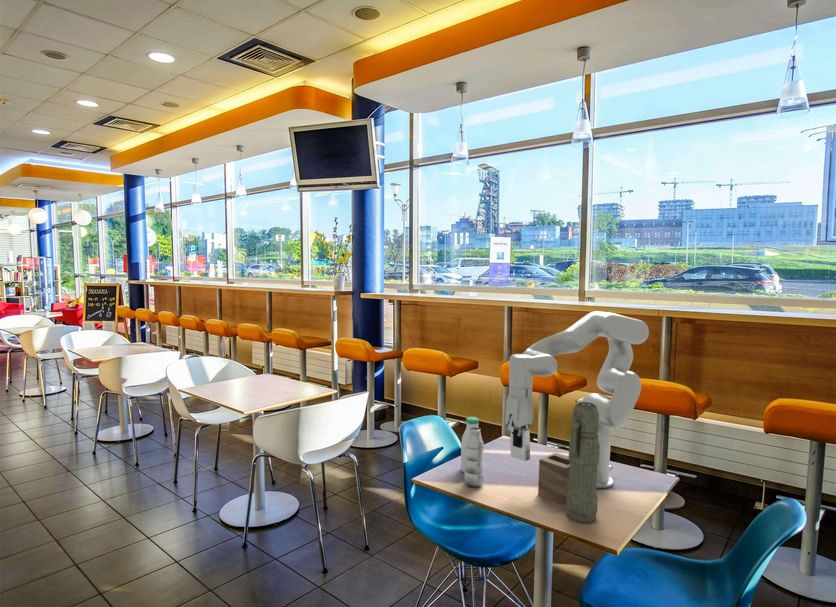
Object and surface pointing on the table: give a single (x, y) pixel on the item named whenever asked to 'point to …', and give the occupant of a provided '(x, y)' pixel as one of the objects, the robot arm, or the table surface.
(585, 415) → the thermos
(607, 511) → the table surface
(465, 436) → the milk bottle
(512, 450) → the white block
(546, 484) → the slotted wooden block
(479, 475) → the plastic bottle
